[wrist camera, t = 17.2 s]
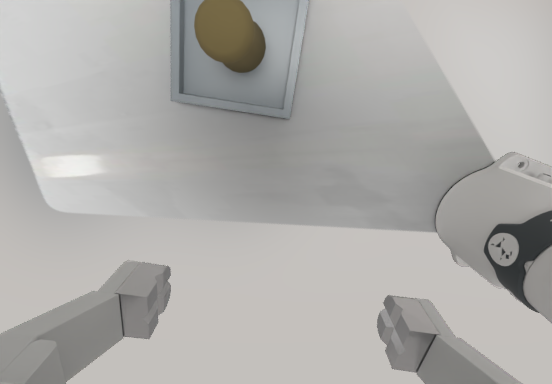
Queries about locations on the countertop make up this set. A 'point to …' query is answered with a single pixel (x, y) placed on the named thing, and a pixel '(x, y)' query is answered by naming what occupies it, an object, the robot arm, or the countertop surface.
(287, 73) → the slate grey tray
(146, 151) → the countertop surface
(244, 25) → the cork
